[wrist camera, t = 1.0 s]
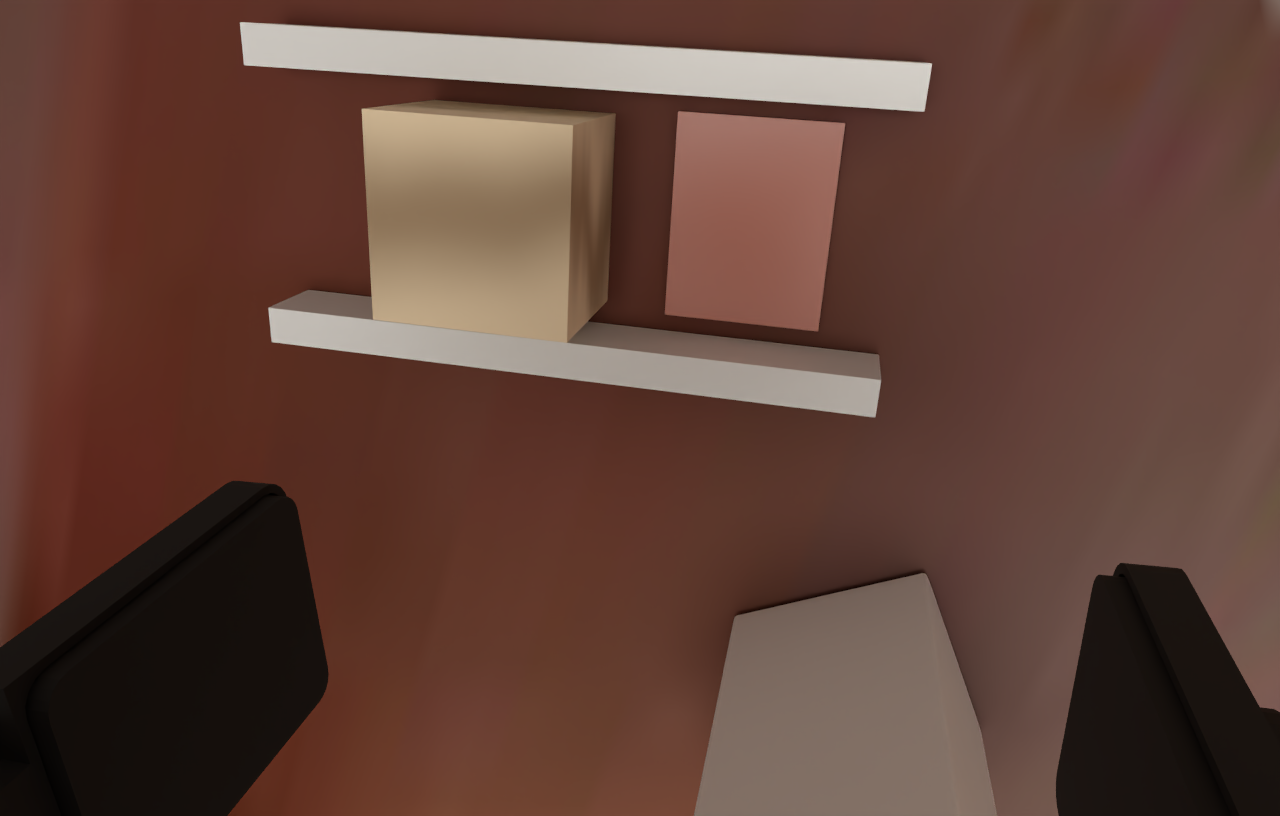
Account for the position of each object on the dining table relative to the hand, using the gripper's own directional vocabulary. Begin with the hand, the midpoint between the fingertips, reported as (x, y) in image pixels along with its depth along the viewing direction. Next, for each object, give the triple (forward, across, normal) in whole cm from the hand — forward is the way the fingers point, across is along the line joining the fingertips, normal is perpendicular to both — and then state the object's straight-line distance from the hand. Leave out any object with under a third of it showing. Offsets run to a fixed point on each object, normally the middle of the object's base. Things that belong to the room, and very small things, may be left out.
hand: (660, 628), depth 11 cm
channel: (+20, +7, -1) cm, 21 cm away
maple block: (+20, +9, -1) cm, 22 cm away
